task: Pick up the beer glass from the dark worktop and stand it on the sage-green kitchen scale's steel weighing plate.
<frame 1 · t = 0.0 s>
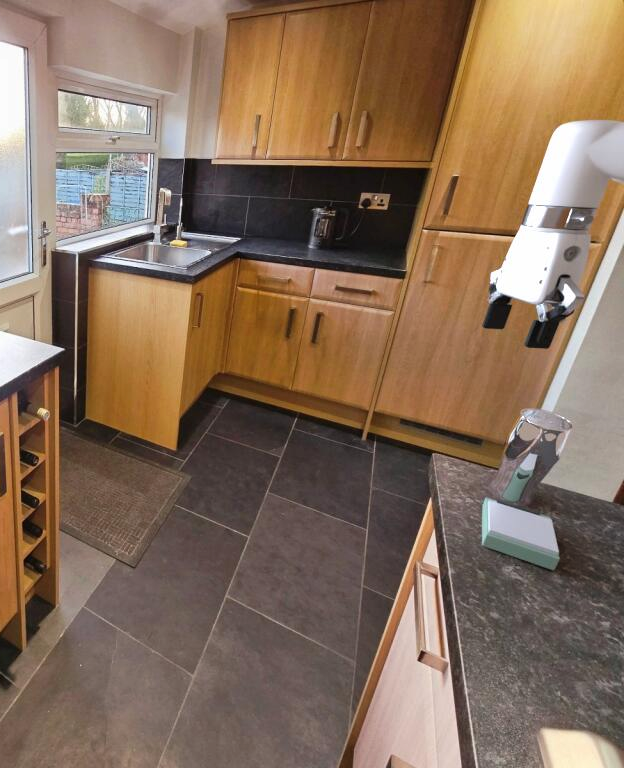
hand: (513, 337, 76), 26 cm above the countertop, tool pointing down, fingers open, 9 cm apart
scale: (514, 536, 72), on the countertop
beer glass: (507, 497, 81), on the countertop
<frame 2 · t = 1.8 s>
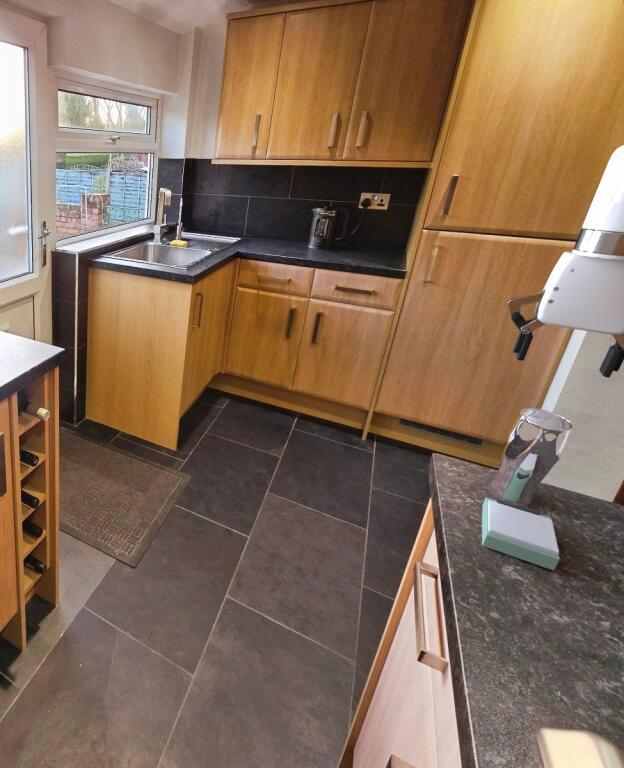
hand: (560, 366, 72), 23 cm above the countertop, tool pointing down, fingers open, 9 cm apart
nothing on the countertop moved.
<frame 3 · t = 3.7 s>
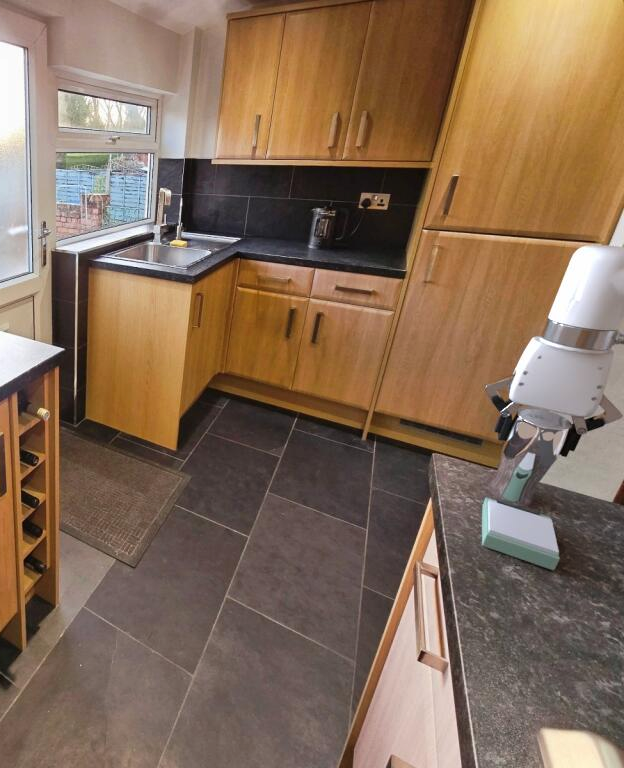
hand: (530, 444, 77), 10 cm above the countertop, tool pointing down, fingers closed on beer glass, 7 cm apart
beer glass: (507, 497, 81), on the countertop, touching gripper
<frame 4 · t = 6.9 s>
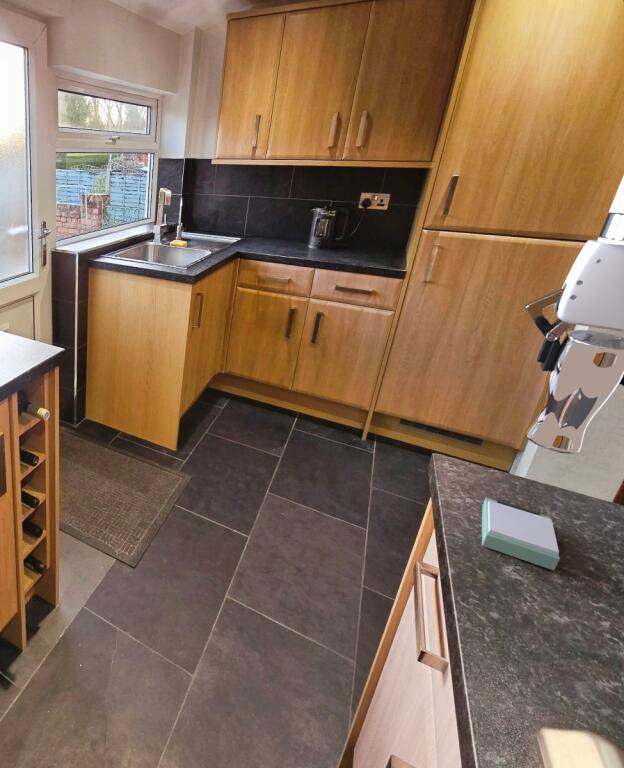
hand: (582, 374, 64), 25 cm above the countertop, tool pointing down, fingers closed on beer glass, 7 cm apart
beer glass: (552, 442, 68), point 15 cm above the countertop, touching gripper
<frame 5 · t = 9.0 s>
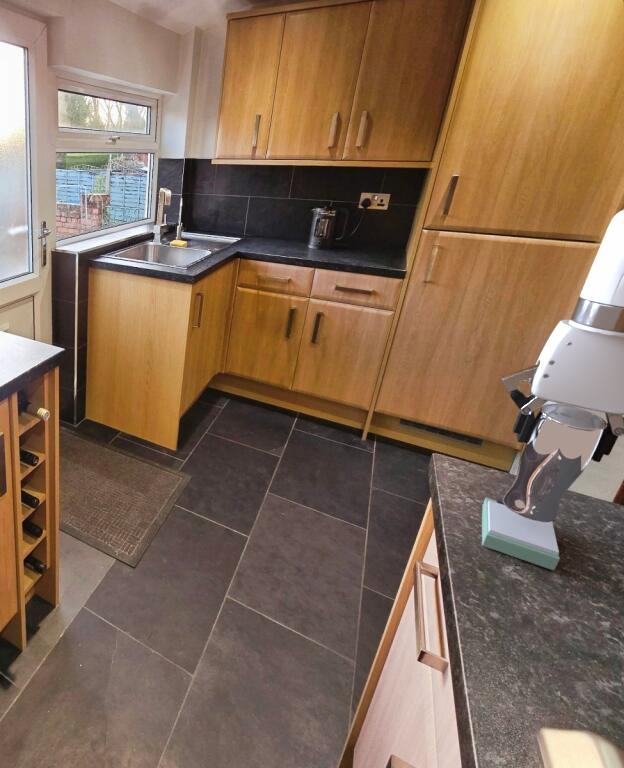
hand: (556, 446, 66), 15 cm above the countertop, tool pointing down, fingers closed on beer glass, 7 cm apart
beer glass: (527, 508, 70), point 5 cm above the countertop, touching gripper
when the fingers open (13 cm above the countertop, at t = 10.3 s): beer glass stays where it is, resting on scale.
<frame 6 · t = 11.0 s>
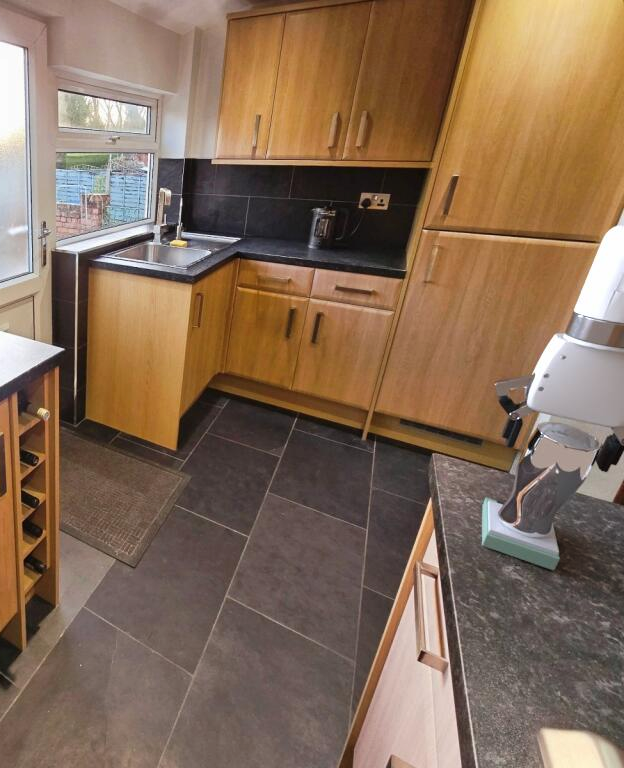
hand: (553, 454, 66), 14 cm above the countertop, tool pointing down, fingers open, 9 cm apart
beer glass: (521, 523, 71), point 3 cm above the countertop, touching scale
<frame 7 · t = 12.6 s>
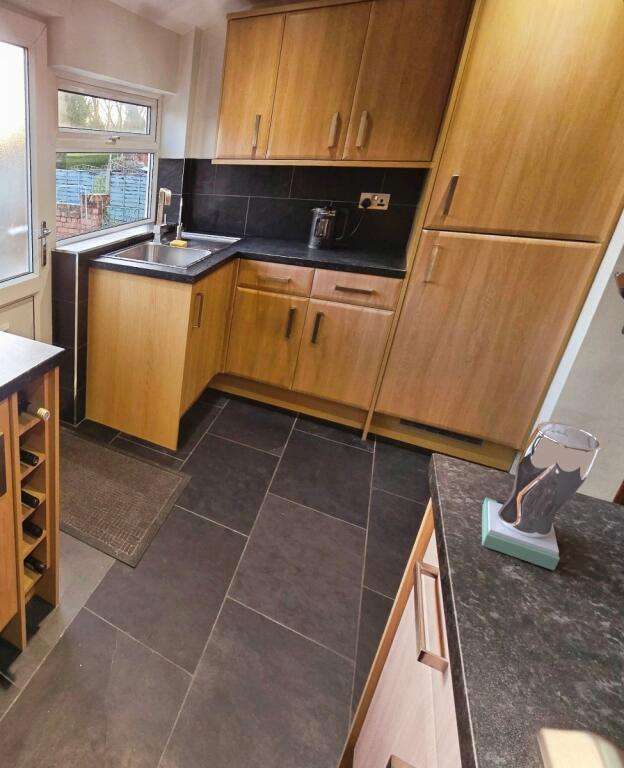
nothing on the countertop moved.
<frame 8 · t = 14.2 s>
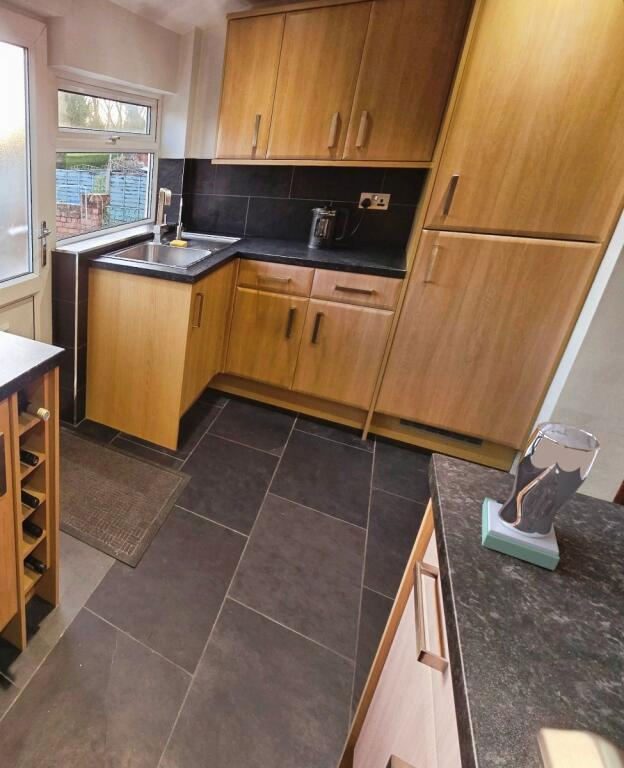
nothing on the countertop moved.
at the end: beer glass 0.0 cm off-centre on the scale, point 2.7 cm above the scale's base; beer glass tilted 5°; the gripper is holding nothing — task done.
